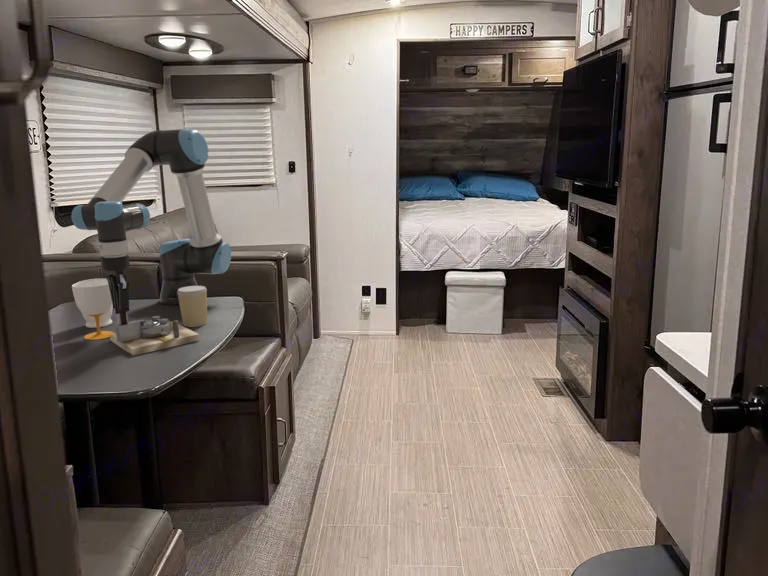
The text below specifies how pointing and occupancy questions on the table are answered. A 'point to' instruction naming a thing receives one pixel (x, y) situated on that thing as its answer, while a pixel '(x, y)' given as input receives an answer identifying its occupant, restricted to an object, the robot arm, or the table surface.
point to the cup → (93, 303)
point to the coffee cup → (193, 305)
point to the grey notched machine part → (142, 329)
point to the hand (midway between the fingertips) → (124, 333)
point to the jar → (103, 318)
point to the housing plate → (158, 340)
